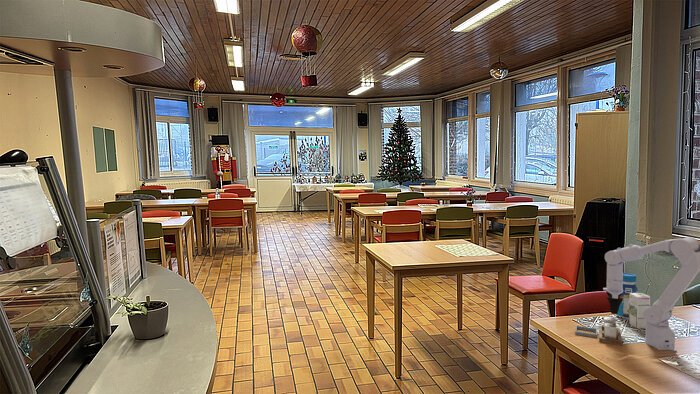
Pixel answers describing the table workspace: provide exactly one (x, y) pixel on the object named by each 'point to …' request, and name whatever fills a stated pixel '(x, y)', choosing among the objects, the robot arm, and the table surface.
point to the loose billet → (610, 331)
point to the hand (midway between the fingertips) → (613, 311)
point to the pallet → (607, 340)
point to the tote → (587, 330)
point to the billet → (609, 320)
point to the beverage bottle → (627, 294)
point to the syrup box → (638, 309)
